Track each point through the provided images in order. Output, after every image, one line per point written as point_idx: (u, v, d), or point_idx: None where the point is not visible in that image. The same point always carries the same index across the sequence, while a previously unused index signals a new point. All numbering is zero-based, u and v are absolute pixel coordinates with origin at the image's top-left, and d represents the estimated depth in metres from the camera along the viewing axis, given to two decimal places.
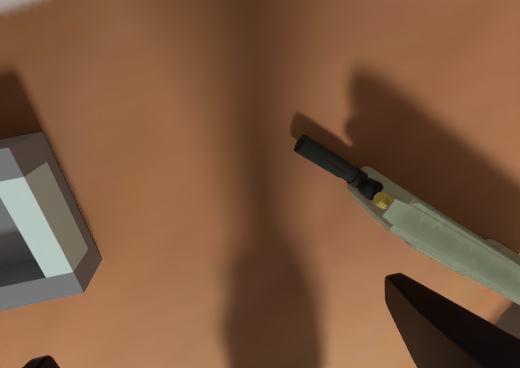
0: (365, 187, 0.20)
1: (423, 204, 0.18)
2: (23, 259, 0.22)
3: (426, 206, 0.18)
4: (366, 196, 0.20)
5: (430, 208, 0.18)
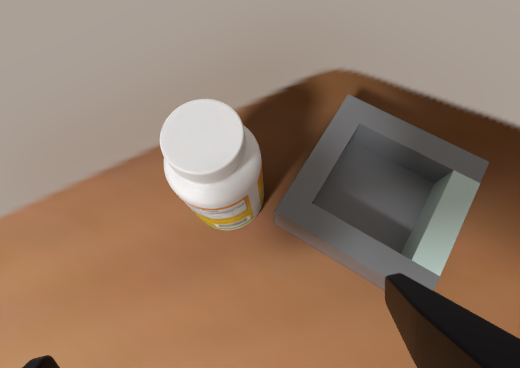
0: None
1: None
2: None
3: None
4: None
5: None
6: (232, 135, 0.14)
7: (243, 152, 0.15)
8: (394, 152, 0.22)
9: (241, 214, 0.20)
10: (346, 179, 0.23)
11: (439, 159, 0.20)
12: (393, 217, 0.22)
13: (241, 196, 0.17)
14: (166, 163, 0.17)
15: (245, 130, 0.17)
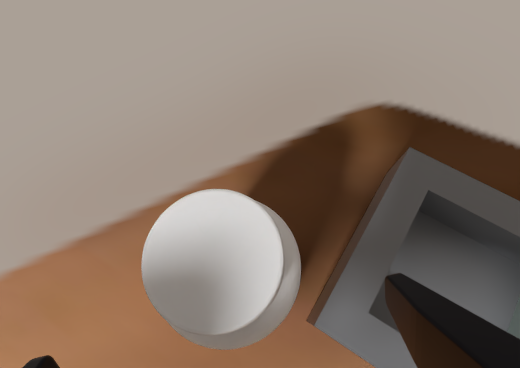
0: None
1: None
2: None
3: None
4: None
5: None
6: (264, 259, 0.08)
7: (281, 281, 0.09)
8: (474, 228, 0.16)
9: None
10: (405, 261, 0.17)
11: None
12: None
13: (272, 331, 0.11)
14: None
15: (277, 223, 0.11)
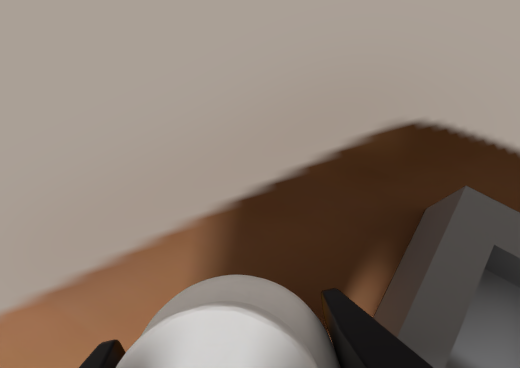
0: None
1: None
2: None
3: None
4: None
5: None
6: None
7: None
8: None
9: None
10: None
11: None
12: None
13: None
14: None
15: (309, 326, 0.08)
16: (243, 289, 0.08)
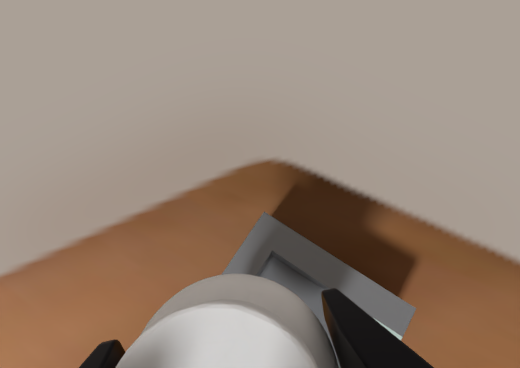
0: None
1: None
2: None
3: None
4: None
5: None
6: None
7: None
8: (314, 281, 0.19)
9: None
10: None
11: (358, 302, 0.17)
12: None
13: None
14: None
15: (307, 324, 0.08)
16: (242, 288, 0.08)
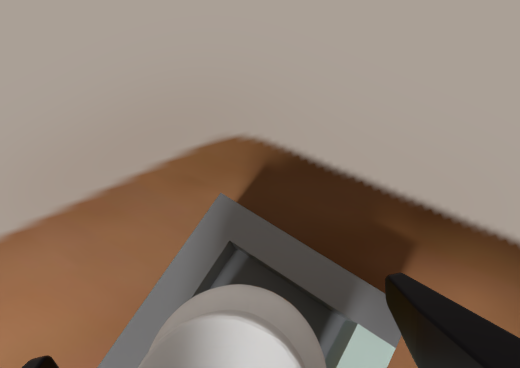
0: None
1: None
2: None
3: None
4: None
5: None
6: None
7: None
8: (284, 278, 0.15)
9: None
10: None
11: (338, 303, 0.14)
12: None
13: None
14: None
15: (299, 331, 0.09)
16: (243, 298, 0.09)
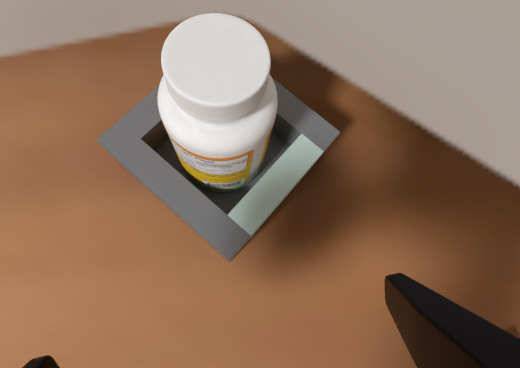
0: None
1: None
2: None
3: None
4: None
5: None
6: (255, 65, 0.11)
7: (263, 92, 0.12)
8: None
9: (237, 174, 0.17)
10: None
11: (290, 119, 0.19)
12: None
13: (247, 149, 0.14)
14: (162, 90, 0.13)
15: None
16: None
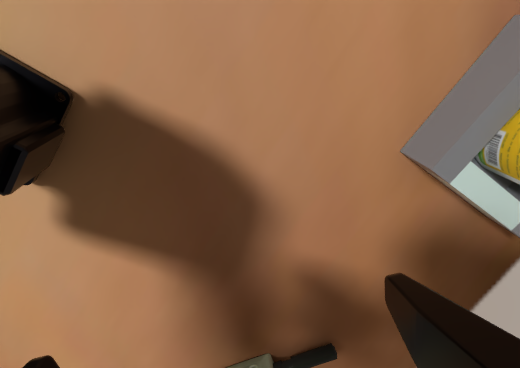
0: None
1: None
2: None
3: None
4: None
5: None
6: None
7: None
8: None
9: (514, 170, 0.18)
10: None
11: None
12: None
13: None
14: None
15: None
16: None
